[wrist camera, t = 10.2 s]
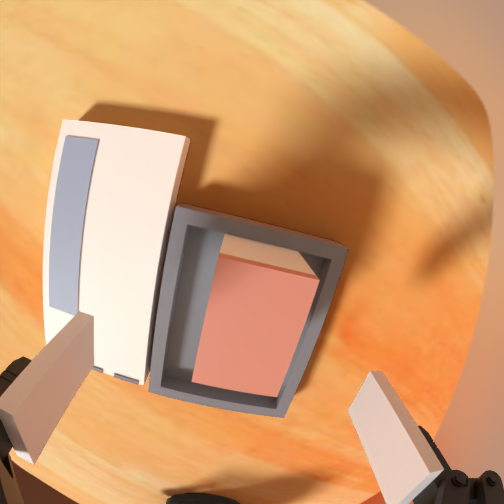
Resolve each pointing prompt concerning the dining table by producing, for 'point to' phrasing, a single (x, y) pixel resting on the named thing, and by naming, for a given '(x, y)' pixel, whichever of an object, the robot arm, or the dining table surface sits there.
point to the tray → (197, 295)
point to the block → (253, 316)
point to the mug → (199, 499)
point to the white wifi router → (110, 237)
